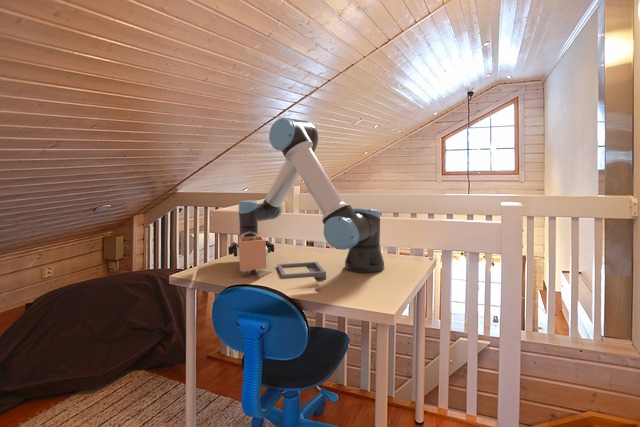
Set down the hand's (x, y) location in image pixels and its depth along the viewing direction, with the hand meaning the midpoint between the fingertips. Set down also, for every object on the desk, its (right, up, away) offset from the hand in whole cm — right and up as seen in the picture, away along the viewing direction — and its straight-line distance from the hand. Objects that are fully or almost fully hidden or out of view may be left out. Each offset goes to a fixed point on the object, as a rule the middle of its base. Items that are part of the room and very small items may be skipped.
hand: (252, 254), depth 136 cm
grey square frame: (+16, -8, +9) cm, 20 cm away
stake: (-1, -9, +5) cm, 11 cm away
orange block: (-1, -5, +5) cm, 7 cm away
